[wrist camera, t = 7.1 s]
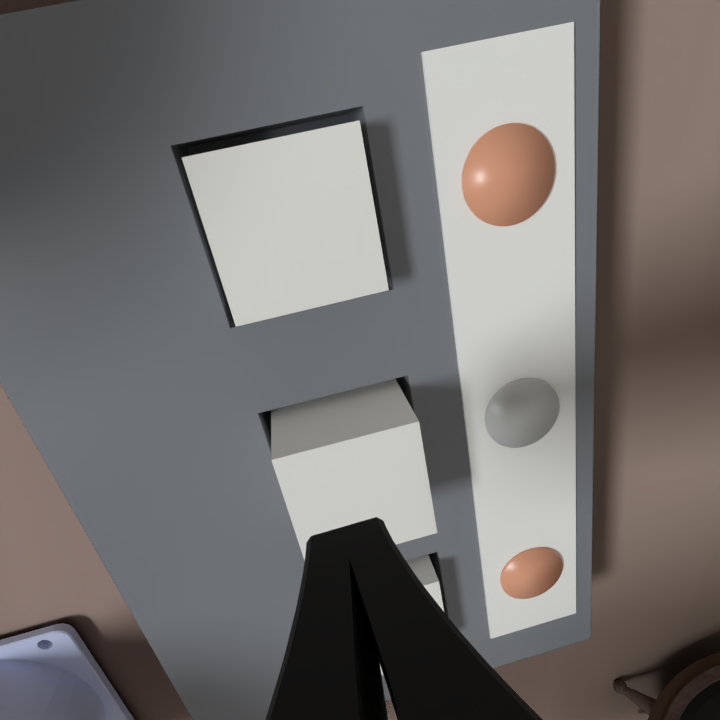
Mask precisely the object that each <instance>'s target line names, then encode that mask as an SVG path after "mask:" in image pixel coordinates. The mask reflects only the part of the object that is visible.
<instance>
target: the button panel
mask: <svg viewBox="0 0 720 720" xmlns="http://www.w3.org/2000/svg"><path fill="white" fill-rule="evenodd" d="M599 41H600V0H78V1H72V2H66V3H61V4H55V5H50V6H44V7H39V8H33V9H28V10H22V11H17V12H11V13H6V14H0V384H1V386H2V387H3V389H4V391H5V393H6V394H7V396H8V398H9V400H10V401H11V403H12V405H13V407H14V408H15V410H16V412H17V414H18V415H19V417H20V419H21V420H22V422H23V424H24V426H25V427H26V429H27V431H28V433H29V434H30V436H31V438H32V440H33V441H34V443H35V445H36V447H37V448H38V450H39V452H40V454H41V455H42V457H43V459H44V461H45V462H46V464H47V466H48V468H49V469H50V471H51V473H52V475H53V476H54V478H55V480H56V482H57V483H58V485H59V487H60V489H61V490H62V492H63V494H64V496H65V497H66V499H67V501H68V503H69V504H70V506H71V508H72V510H73V511H74V513H75V515H76V517H77V518H78V520H79V522H80V524H81V525H82V527H83V529H84V531H85V532H86V534H87V536H88V538H89V539H90V541H91V543H92V545H93V546H94V548H95V550H96V552H97V553H98V555H99V557H100V559H101V560H102V562H103V564H104V566H105V567H106V569H107V571H108V573H109V574H110V576H111V578H112V580H113V581H114V583H115V585H116V587H117V588H118V590H119V592H120V594H121V595H122V597H123V599H124V601H125V602H126V604H127V606H128V608H129V609H130V611H131V613H132V615H133V616H134V618H135V620H136V622H137V623H138V625H139V627H140V628H141V630H142V632H143V634H144V635H145V637H146V639H147V641H148V642H149V644H150V646H151V648H152V649H153V651H154V653H155V655H156V656H157V658H158V660H159V662H160V663H161V665H162V667H163V669H164V670H165V672H166V674H167V676H168V677H169V679H170V681H171V683H172V684H173V686H174V688H175V690H176V691H177V693H178V695H179V697H180V698H181V700H182V702H183V704H184V705H185V707H186V709H187V711H188V712H189V714H190V716H191V718H192V719H193V720H265V719H266V716H267V713H268V709H269V706H270V703H271V699H272V696H273V693H274V689H275V686H276V683H277V680H278V676H279V673H280V670H281V666H282V663H283V659H284V655H285V651H286V647H287V643H288V639H289V635H290V631H291V627H292V623H293V619H294V615H295V611H296V606H297V601H298V596H299V591H300V586H301V581H302V575H303V569H304V562H305V561H304V558H303V555H302V552H301V549H300V546H299V543H298V539H297V536H296V533H295V530H294V527H293V524H292V521H291V518H290V515H289V512H288V509H287V506H286V503H285V500H284V497H283V494H282V491H281V488H280V485H279V482H278V479H277V476H276V473H275V470H274V467H273V464H272V460H271V410H273V409H277V408H281V407H285V406H289V405H293V404H297V403H301V402H305V401H309V400H312V399H316V398H320V397H324V396H328V395H332V394H336V393H340V392H344V391H348V390H352V389H356V388H360V387H364V386H368V385H372V384H376V383H379V382H383V381H387V380H391V379H396V381H397V383H398V385H399V386H400V388H401V390H402V392H403V394H404V395H405V397H406V399H407V401H408V403H409V404H410V406H411V408H412V410H413V411H414V413H415V415H416V417H417V419H418V420H419V424H420V430H421V436H422V442H423V449H424V455H425V461H426V467H427V473H428V479H429V485H430V491H431V497H432V503H433V509H434V515H435V522H436V528H437V533H435V534H432V535H428V536H425V537H421V538H418V539H414V540H411V541H407V542H403V543H400V544H396V546H397V548H398V549H399V551H400V552H401V554H402V556H403V557H404V559H405V560H410V559H413V558H417V557H420V556H424V555H427V554H428V555H429V557H430V560H431V562H432V565H433V567H434V570H435V573H436V575H437V578H438V580H439V584H440V590H441V596H442V602H443V608H444V613H445V614H446V615H447V616H448V618H449V619H450V620H451V621H452V622H453V624H454V625H455V626H456V627H457V628H458V630H459V631H460V632H461V633H462V634H463V635H464V637H465V638H466V639H467V640H468V641H469V642H470V643H471V645H472V646H473V647H474V648H475V649H476V650H477V651H478V653H479V654H480V655H481V656H482V657H483V658H484V659H485V660H486V662H487V663H488V664H489V665H490V666H491V667H492V668H496V667H499V666H502V665H506V664H509V663H512V662H515V661H519V660H522V659H525V658H528V657H532V656H535V655H538V654H542V653H545V652H548V651H551V650H555V649H558V648H561V647H564V646H568V645H571V644H574V643H577V642H581V641H584V640H587V639H590V638H591V574H592V507H593V441H594V374H595V307H596V241H597V174H598V107H599ZM359 120H360V126H361V131H362V137H363V143H364V149H365V155H366V160H367V166H368V172H369V178H370V184H371V189H372V195H373V201H374V207H375V213H376V218H377V224H378V230H379V236H380V242H381V248H382V253H383V259H384V265H385V271H386V277H387V282H388V288H389V290H388V291H384V292H379V293H375V294H371V295H367V296H363V297H358V298H354V299H350V300H346V301H342V302H337V303H333V304H329V305H325V306H321V307H316V308H312V309H308V310H304V311H300V312H296V313H291V314H287V315H283V316H279V317H275V318H270V319H266V320H262V321H258V322H254V323H249V324H245V325H241V326H237V327H236V326H235V323H234V319H233V316H232V313H231V310H230V307H229V304H228V301H227V298H226V295H225V291H224V288H223V285H222V282H221V279H220V276H219V273H218V270H217V267H216V263H215V260H214V257H213V254H212V251H211V248H210V245H209V242H208V239H207V235H206V232H205V229H204V226H203V223H202V220H201V217H200V214H199V211H198V207H197V204H196V201H195V198H194V195H193V192H192V189H191V186H190V183H189V179H188V176H187V173H186V170H185V167H184V164H183V161H182V157H186V156H191V155H196V154H201V153H206V152H210V151H215V150H220V149H225V148H229V147H234V146H239V145H244V144H249V143H253V142H258V141H263V140H268V139H272V138H277V137H282V136H287V135H292V134H296V133H301V132H306V131H311V130H316V129H320V128H325V127H330V126H335V125H339V124H344V123H349V122H354V121H359ZM382 682H383V689H384V696H385V701H389V700H391V697H390V694H389V691H388V687H387V684H386V681H385V678H384V675H382Z"/></svg>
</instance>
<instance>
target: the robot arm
mask: <svg viewBox="0 0 720 720" xmlns="http://www.w3.org/2000/svg"><path fill="white" fill-rule="evenodd" d="M380 665H381V668H382V672H383V675H384V678H385V681H386V684H387V687H388V691H389V694H390V697H391V700H392V703H393V706H394V710H395V713H396V716H397V719H398V720H542V719H541V718H540V717H539V716H538V715H537V714H536V713H535V712H534V711H533V710H532V709H531V708H530V707H529V706H528V705H527V704H526V703H525V701H524V700H523V699H522V698H521V697H520V696H519V695H518V694H517V693H516V692H515V691H514V690H513V689H512V688H511V687H510V686H509V685H508V684H507V683H506V682H505V681H504V680H503V679H502V678H501V677H500V676H499V675H498V673H497V672H496V671H495V670H494V669H493V668H492V667H491V666H490V665H489V664H488V663H487V662H486V660H485V659H484V658H483V657H482V656H481V655H480V654H479V653H478V651H477V650H476V649H475V648H474V647H473V646H472V645H471V643H470V642H469V641H468V640H467V639H466V638H465V637H464V635H463V634H462V633H461V632H460V631H459V630H458V628H457V627H456V626H455V625H454V624H453V622H452V621H451V620H450V619H449V618H448V616H447V615H446V614H445V613H444V611H443V610H442V609H441V607H440V606H439V605H438V604H437V602H436V601H435V600H434V599H433V597H432V596H431V595H430V593H429V592H428V591H427V590H426V588H425V587H424V586H423V584H422V583H421V582H420V580H419V579H418V577H417V576H416V575H415V573H414V572H413V570H412V569H411V567H410V566H409V565H408V563H407V562H406V560H405V559H404V557H403V556H402V554H401V552H400V551H399V549H398V548H397V546H396V544H395V543H394V541H393V539H392V537H391V535H390V534H389V532H388V530H387V528H386V526H385V523H384V521H383V520H381V519H379V518H377V517H375V518H371V519H368V520H364V521H361V522H357V523H354V524H351V525H347V526H344V527H340V528H337V529H333V530H330V531H326V532H323V533H320V534H316V535H313V536H311V537H310V538H309V540H308V541H307V542H306V554H305V562H304V569H303V575H302V581H301V586H300V591H299V596H298V601H297V606H296V611H295V615H294V619H293V623H292V627H291V631H290V635H289V639H288V643H287V647H286V651H285V655H284V659H283V663H282V666H281V670H280V673H279V676H278V680H277V683H276V686H275V689H274V693H273V696H272V699H271V703H270V706H269V709H268V713H267V716H266V719H265V720H388V717H387V710H386V703H385V696H384V689H383V682H382V675H381V669H380ZM0 720H134V718H133V717H132V715H131V714H130V712H129V711H128V709H127V708H126V706H125V705H124V703H123V702H122V700H121V699H120V697H119V695H118V694H117V692H116V691H115V689H114V688H113V686H112V685H111V683H110V682H109V680H108V679H107V677H106V676H105V674H104V673H103V671H102V670H101V668H100V667H99V665H98V664H97V662H96V661H95V659H94V658H93V656H92V654H91V653H90V651H89V650H88V648H87V647H86V645H85V644H84V642H83V641H82V639H81V638H80V636H79V635H78V633H77V632H76V630H75V629H74V628H73V627H72V626H71V625H68V624H64V623H61V624H55V625H52V626H48V627H45V628H41V629H37V630H34V631H30V632H27V633H23V634H19V635H16V636H12V637H9V638H5V639H2V640H0Z"/></svg>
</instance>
